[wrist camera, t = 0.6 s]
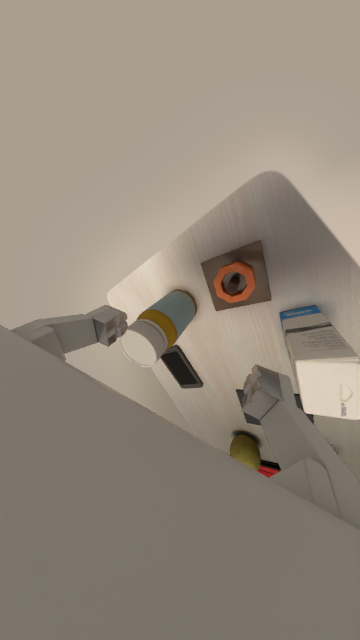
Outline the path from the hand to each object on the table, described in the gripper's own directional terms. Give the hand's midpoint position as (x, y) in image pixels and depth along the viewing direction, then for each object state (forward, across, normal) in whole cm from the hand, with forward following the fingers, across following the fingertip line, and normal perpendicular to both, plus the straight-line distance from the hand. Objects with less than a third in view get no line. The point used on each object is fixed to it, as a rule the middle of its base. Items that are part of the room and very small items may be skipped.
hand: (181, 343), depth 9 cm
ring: (+19, -1, +1) cm, 19 cm away
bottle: (+20, +7, +9) cm, 23 cm away
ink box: (+20, -14, +6) cm, 25 cm away
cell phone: (+20, +4, +27) cm, 34 cm away
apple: (+21, -19, +44) cm, 52 cm away
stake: (+20, -1, +1) cm, 20 cm away
